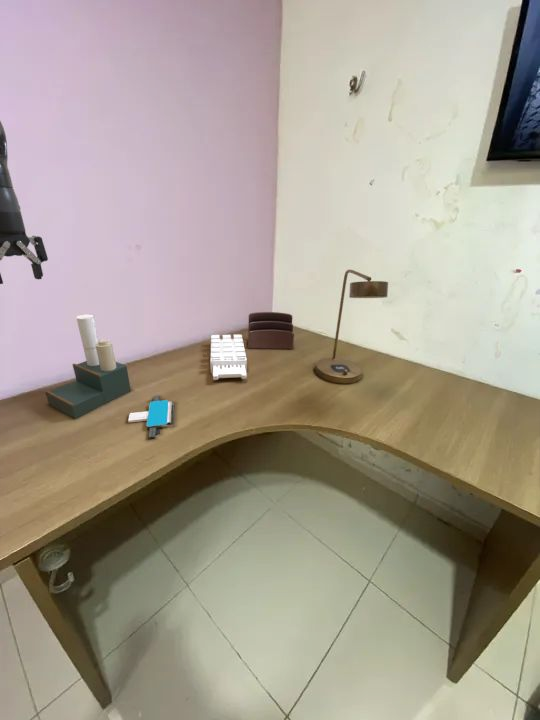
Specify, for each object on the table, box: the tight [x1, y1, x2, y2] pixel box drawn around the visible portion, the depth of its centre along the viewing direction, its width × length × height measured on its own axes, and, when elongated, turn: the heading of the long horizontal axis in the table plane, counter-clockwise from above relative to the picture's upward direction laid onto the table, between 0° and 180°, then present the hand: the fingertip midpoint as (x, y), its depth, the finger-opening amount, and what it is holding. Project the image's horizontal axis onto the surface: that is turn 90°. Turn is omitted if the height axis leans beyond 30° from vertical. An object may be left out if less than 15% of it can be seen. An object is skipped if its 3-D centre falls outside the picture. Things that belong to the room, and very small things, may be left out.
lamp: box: [315, 269, 389, 385], centre depth 105 cm, size 17×27×38 cm, turn 8°
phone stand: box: [127, 395, 175, 440], centre depth 87 cm, size 20×12×2 cm, turn 15°
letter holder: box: [247, 311, 295, 350], centre depth 137 cm, size 10×20×14 cm, turn 93°
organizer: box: [210, 334, 248, 381], centre depth 121 cm, size 13×5×35 cm
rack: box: [44, 360, 132, 419], centre depth 93 cm, size 13×18×10 cm
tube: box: [75, 313, 99, 366], centre depth 93 cm, size 4×4×15 cm
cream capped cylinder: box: [95, 338, 117, 371], centre depth 92 cm, size 4×4×9 cm
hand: (19, 281), depth 77 cm, fingers open, 8 cm apart
